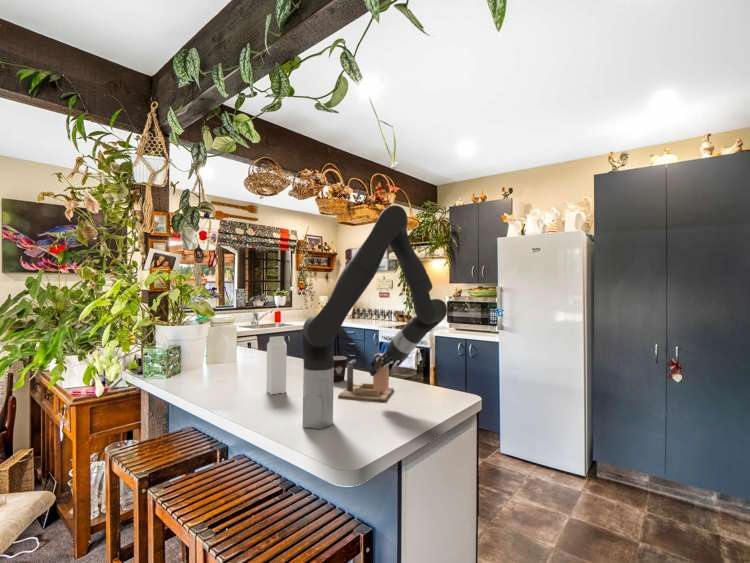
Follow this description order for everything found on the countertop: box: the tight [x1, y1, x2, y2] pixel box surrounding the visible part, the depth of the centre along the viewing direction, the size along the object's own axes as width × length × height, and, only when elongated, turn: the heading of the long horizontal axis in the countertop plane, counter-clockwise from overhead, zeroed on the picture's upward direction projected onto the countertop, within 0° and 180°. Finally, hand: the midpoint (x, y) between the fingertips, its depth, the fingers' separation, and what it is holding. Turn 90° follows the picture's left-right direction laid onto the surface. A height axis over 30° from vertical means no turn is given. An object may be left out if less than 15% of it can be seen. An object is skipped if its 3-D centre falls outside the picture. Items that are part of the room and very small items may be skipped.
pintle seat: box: [337, 359, 394, 403], centre depth 146 cm, size 16×18×12 cm
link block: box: [372, 352, 390, 391], centre depth 131 cm, size 4×4×12 cm
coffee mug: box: [333, 355, 348, 383], centre depth 167 cm, size 12×9×10 cm
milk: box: [265, 335, 288, 396], centre depth 148 cm, size 6×6×22 cm
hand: (378, 372), depth 133 cm, fingers closed on link block, 6 cm apart
